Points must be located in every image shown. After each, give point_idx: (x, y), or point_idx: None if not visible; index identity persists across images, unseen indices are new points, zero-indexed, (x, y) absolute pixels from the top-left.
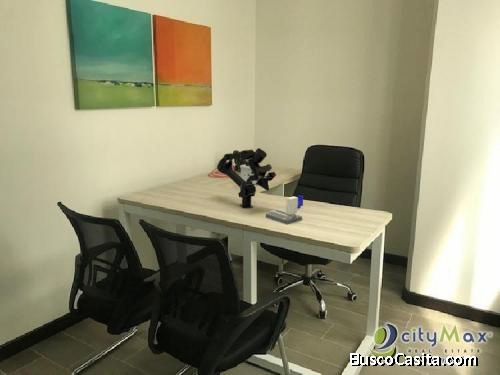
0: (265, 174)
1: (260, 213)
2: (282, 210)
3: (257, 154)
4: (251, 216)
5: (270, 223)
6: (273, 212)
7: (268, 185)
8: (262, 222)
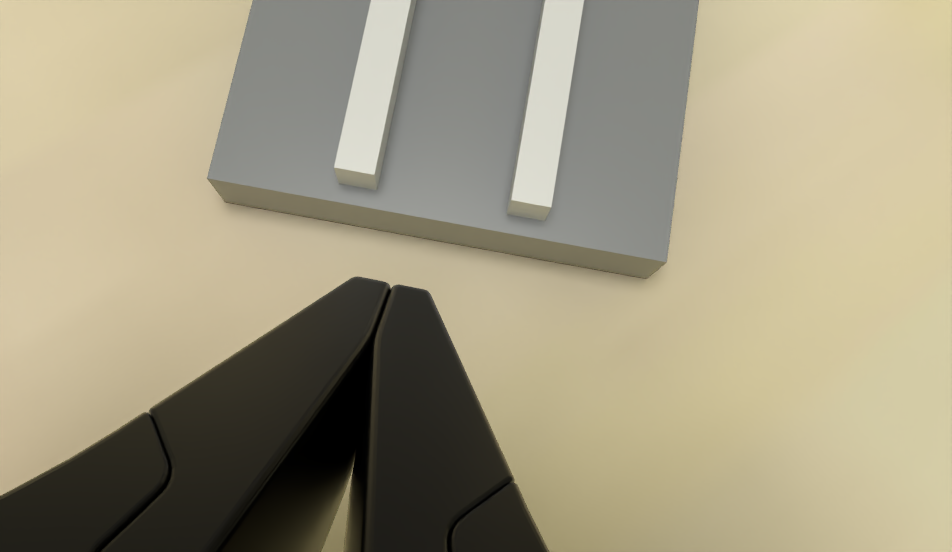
0: None
1: None
2: (219, 132)
3: None
4: (805, 527)
5: (862, 13)
6: (562, 130)
7: (224, 363)
8: (922, 141)
